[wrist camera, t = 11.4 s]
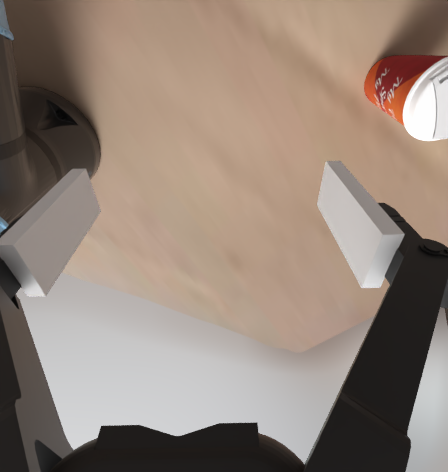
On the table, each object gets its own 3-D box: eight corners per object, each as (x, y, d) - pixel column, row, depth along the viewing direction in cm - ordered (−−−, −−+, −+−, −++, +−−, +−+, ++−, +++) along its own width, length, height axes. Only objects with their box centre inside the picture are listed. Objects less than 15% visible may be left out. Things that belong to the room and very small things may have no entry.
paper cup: (345, 75, 36) (398, 96, 25) (406, 29, 33) (496, 29, 22) (369, 123, 40) (424, 161, 29) (425, 86, 37) (511, 111, 26)
